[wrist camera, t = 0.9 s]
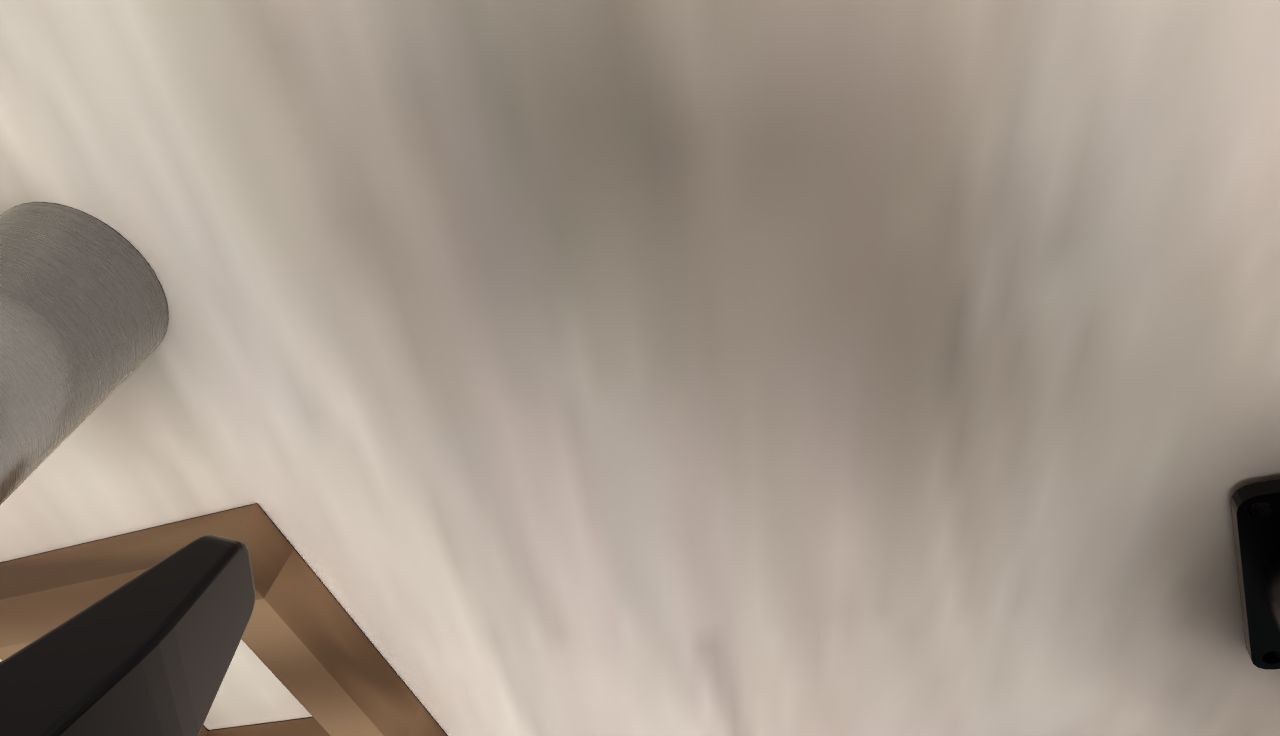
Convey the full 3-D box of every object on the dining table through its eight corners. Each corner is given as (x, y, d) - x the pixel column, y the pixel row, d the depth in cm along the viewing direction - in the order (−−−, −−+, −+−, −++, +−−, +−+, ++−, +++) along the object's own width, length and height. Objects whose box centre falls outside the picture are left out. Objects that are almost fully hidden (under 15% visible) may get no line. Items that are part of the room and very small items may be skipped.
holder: (448, 736, 35) (429, 787, 33) (200, 764, 39) (174, 811, 37) (256, 503, 29) (223, 552, 27) (-11, 565, 33) (-54, 611, 31)
